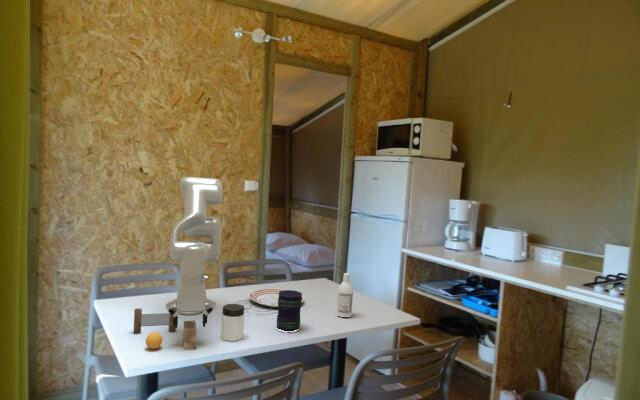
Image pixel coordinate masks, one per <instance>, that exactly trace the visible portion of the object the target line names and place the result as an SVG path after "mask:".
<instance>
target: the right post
mask: <svg viewBox="0 0 640 400" xmlns="http://www.w3.org/2000/svg"><path fill="white" fill-rule="evenodd" d="M171 308H172V309H173V310H174V311H175V310H176V309H177V308H176V306H175V307H174V306H171ZM168 313H169V312H168ZM176 330H177V328H175V325H173V315H171V314H170V313H169V325H168V333H176Z"/></svg>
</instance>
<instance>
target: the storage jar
mask: <svg viewBox="0 0 640 400" xmlns="http://www.w3.org/2000/svg"><path fill="white" fill-rule="evenodd" d="M283 290H284V291H280V292H279V297H278V308H277V311H278V312H277V316H276V327H277V328H278V329H281V330H284V331H294V330H297V329H299V328H300V327H301V308H302V303H303V302H302V296H303V293H302V292H300V291H298V290H292V289H290V290H289V289H283Z"/></svg>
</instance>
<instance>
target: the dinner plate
mask: <svg viewBox="0 0 640 400" xmlns="http://www.w3.org/2000/svg"><path fill="white" fill-rule="evenodd" d="M284 290H285V289H283V288H282V289H281V288H261V289H256V290H253V291H251V292H250V293H249V294H248V298H249V299H250V300H251V301H253V302H254V303H256V304H258V305H261V306H263V305H265V306H264V307H267V306H271V307H270V308H275V307H278V305H268V304H263V303H260V302H259V299H260V298H263V297H265V296H268V295H279V292H280V291H284ZM304 301H305V298H304V296H303V295H302V303H304Z"/></svg>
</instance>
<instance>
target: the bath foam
mask: <svg viewBox="0 0 640 400" xmlns="http://www.w3.org/2000/svg"><path fill="white" fill-rule="evenodd" d="M342 277H343V278H342V282H341V283H340V285H339V286H338V289H337V301H336V312H335V313H337V314H338V315H341V316H350V315H351V316H352V311H353V310H352V309H353V299H354V298H353V297H354V289H353V286H352V284H351V282H350V280H351V274H350V273H348V272H344V273H343V276H342Z"/></svg>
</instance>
